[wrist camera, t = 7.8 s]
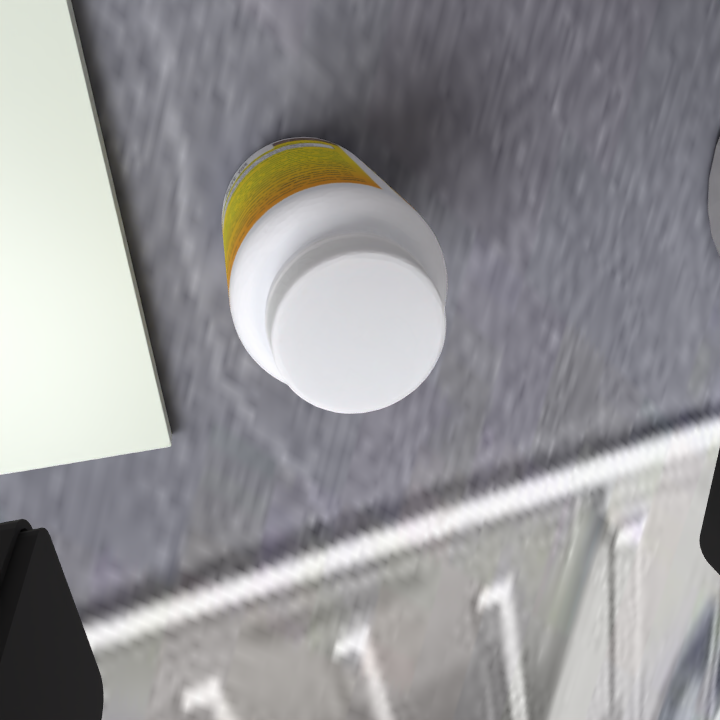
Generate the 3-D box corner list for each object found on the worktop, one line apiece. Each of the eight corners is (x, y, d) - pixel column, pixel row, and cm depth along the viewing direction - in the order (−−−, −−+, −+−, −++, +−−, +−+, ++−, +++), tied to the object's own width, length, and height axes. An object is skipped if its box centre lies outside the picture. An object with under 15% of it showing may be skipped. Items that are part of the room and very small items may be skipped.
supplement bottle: (189, 236, 23) (179, 373, 14) (282, 97, 22) (337, 154, 13) (318, 318, 25) (380, 480, 17) (410, 198, 24) (531, 304, 15)
